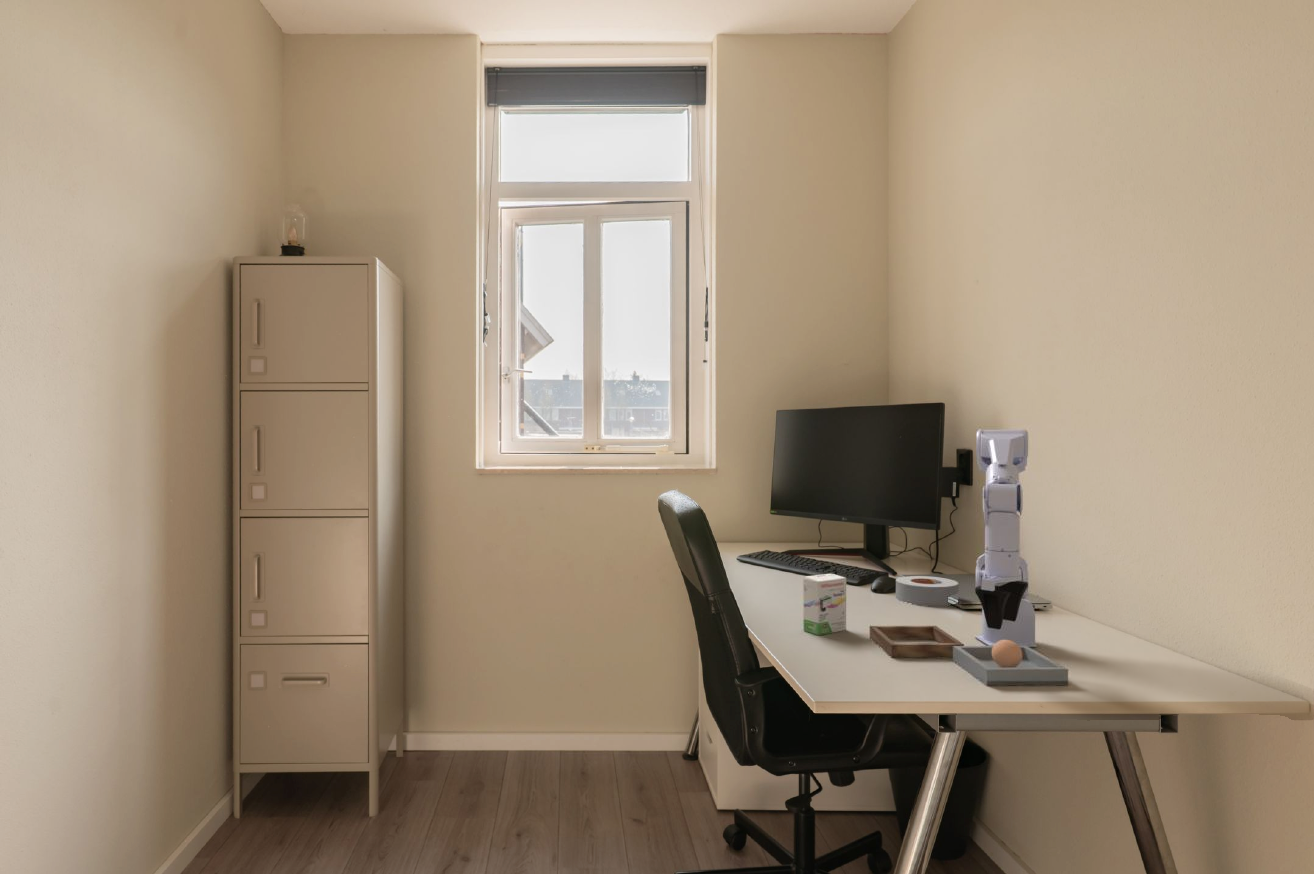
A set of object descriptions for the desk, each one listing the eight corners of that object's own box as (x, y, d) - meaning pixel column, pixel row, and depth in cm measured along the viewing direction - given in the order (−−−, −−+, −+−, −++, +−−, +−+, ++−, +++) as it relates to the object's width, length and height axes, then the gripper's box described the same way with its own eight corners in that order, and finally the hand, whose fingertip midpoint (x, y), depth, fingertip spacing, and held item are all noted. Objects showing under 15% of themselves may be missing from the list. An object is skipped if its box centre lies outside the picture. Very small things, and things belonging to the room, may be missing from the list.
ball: (1014, 663, 137) (1014, 636, 137) (1027, 672, 132) (1027, 644, 132) (986, 663, 137) (987, 636, 137) (998, 672, 132) (998, 643, 132)
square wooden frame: (935, 637, 158) (935, 625, 158) (964, 657, 144) (964, 644, 144) (869, 637, 157) (869, 625, 157) (891, 657, 143) (891, 644, 143)
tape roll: (886, 594, 200) (886, 575, 200) (940, 593, 202) (940, 574, 202) (911, 608, 185) (911, 587, 185) (970, 606, 187) (970, 586, 187)
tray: (1026, 660, 142) (1026, 645, 142) (1067, 685, 128) (1068, 669, 128) (952, 660, 142) (952, 645, 142) (986, 685, 128) (986, 669, 128)
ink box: (818, 635, 159) (818, 580, 159) (802, 630, 163) (802, 576, 163) (847, 630, 163) (847, 576, 163) (831, 625, 168) (831, 572, 168)
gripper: (994, 542, 144) (993, 613, 144) (964, 551, 133) (963, 627, 134) (1033, 546, 139) (1033, 619, 139) (1005, 556, 129) (1005, 635, 129)
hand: (1001, 624), depth 136 cm, fingers open, 7 cm apart
